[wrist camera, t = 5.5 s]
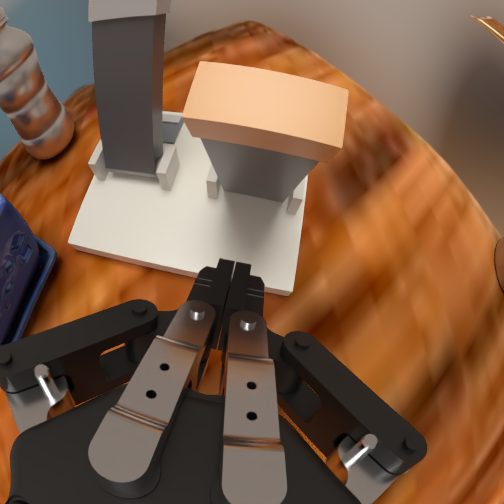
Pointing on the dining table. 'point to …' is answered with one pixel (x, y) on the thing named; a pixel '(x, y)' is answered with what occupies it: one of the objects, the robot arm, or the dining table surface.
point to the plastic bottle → (30, 96)
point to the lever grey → (129, 82)
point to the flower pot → (20, 271)
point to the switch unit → (188, 216)
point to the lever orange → (264, 126)
